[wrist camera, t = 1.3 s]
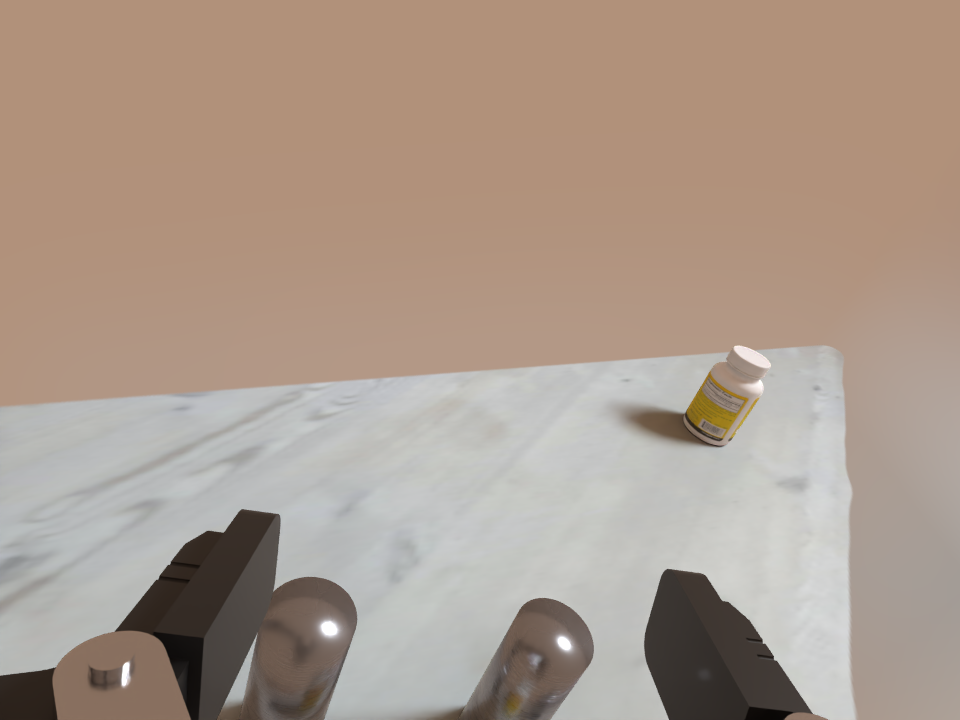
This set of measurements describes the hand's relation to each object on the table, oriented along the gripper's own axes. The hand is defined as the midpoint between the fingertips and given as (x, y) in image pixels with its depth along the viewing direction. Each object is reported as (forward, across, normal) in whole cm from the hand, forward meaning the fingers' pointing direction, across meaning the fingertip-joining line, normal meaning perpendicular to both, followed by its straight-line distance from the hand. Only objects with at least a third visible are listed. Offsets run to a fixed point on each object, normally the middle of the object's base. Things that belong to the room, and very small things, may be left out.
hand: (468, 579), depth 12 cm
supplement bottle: (+49, -28, +12) cm, 58 cm away
